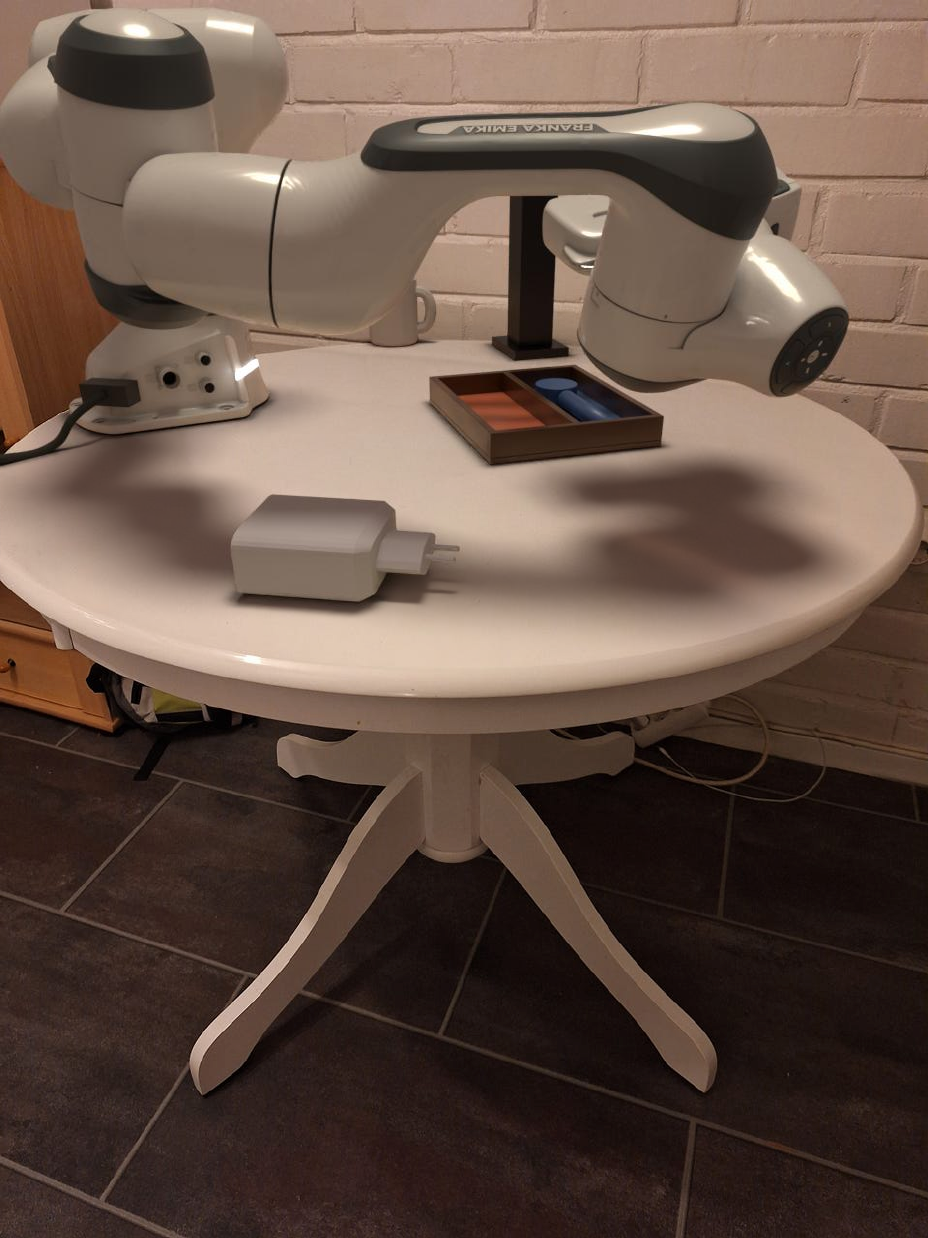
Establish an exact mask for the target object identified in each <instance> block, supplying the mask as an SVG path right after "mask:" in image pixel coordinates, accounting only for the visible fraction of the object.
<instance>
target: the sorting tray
mask: <svg viewBox="0 0 928 1238" xmlns="http://www.w3.org/2000/svg"><path fill="white" fill-rule="evenodd" d="M550 378H560V379H568V380H572V381H575V382H576V383H577V384H578V387H577V395H578V396H579V397H581V398H582V399H584V400H585V401H587V402H588V403H590V404H592V405H593V406H595V407H596V408H598V409H599V410H601V411H602V412H604V413H605V414H607V415H608V416H610V417H612V418H613V419H607V420H597V421H587V422H582V421H581V420H579V419H578V418H576V417H575V416H574V415H572V414H571V413H569V412H568V411H566V410H565V409H564V408H562V407H561V406H557V405H555V404H554V403H552V402H551V401H549V400H548V399H547V398H545V397H544V396H542V395H541V394H540V393H538V392H537V391H535V384H536V382H537V381H539V380H543V379H550ZM428 384H429V386H428V387H429V403H430V405H431V406H432V407H434V408H435V410H436V411H437V412H438V413H439V414H440V415H441V416H442V417H443V418H444V419H445V420H446V421H447V422H448V423H449V424H450V425H451V426H452V427H453V428H454V429H455V430H456V431H457V432H458V433H459V434H460V435H461V436H462V437H463V438H464V439H465V440H466V441H467V442H468V443H469V444H470V445H471V446H472V447H473V448H474V449H475V450H476V451H477V453H478V454H480V456H482V457H483V459H484V460H485V461H486V462H487V463H488V464H490V465H499V464H509V463H515V462H517V463H518V462H526V461H535V460H542V459H543V460H545V459H553V458H560V457H561V458H562V457H570V456H579V455H587V454H597V453H607V452H616V451H625V450H634V449H642V448H653V447H660V446H662V439H663V431H664V430H663V429H664V422H665V421H664V420H665V416H664V415H663V414H661V413H659V412H658V411H656V410H654V409H653V408H651V407H649V406H647V405H646V404H644V403H643V402H641V401H639V400H638V399H636V398H634V397H632V396H631V395H629V394H627V393H625V392H624V391H622V390H620V389H618V388H616V387H615V386H614V385H612V384H610V383H608V382H606V381H604V380H603V379H601V378H599V377H597V376H596V375H594V374H592V373H591V372H589V371H587V370H585V369H584V368H582V367H580V366H579V365H577V364H565V365H554V366H553V365H552V366H542V367H529V368H517V369H505V370H494V371H492V370H491V371H481V372H469V373H459V374H458V373H457V374H447V375H446V374H445V375H434V376H433V375H432V376H429V377H428Z"/></svg>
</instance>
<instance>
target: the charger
mask: <svg viewBox="0 0 928 1238" xmlns="http://www.w3.org/2000/svg"><path fill="white" fill-rule="evenodd" d="M436 539H437V536H436V533H435V532H430V531H429V532H428V531H414V530H413V531H411V530H397V512H396V508H394V507H393V506H392V505H390V504H389V503H388V502H387V501H385V500H379V499H378V500H375V499H358V498H342V497H327V496H326V497H324V496H308V495H292V494H291V495H290V494H275V493H274V494H270V495H268V496H267V497H266V498H265V499H263V501H262V502H261V503H260V504H259V505H258V506H257V507H256V508H255V510H254V511H253V512H252V513H251V514H250V515H249V516H247V518H246V519H245V520H244V521H243V522H242V523H241V524H240V525H239V526H238V528H237V529H236V530H235V531H234V533H233V535H232V537H231V541H230V556H231V562H232V569H233V576H234V581H235V582H234V583H235V589H236V592H237V593H238V594H248V595H249V594H251V595H262V596H263V595H264V596H278V597H288V598H289V597H291V598H303V599H316V600H332V601H345V602H362V601H364V600H366V599H368V598H370V597H371V596H373V595H375V594H376V593H377V592H378V590H379V588H380V586H381V584H382V583H383V581H384V579H385V577H386V575H387V573H393V574H408V575H409V574H410V575H423V576H425V575H426V574H427V573H428V570H429V568H430V566H431V564H432V561H433V562H447V563H454V562H456V560H457V559H456V556H455V555H449V554H435V553H434V551H439V552H454V553H455V552H456V553H458V552H460V550H461V547H460V546H459V545H454V544H453V545H450V544H438V543H437V544H436Z"/></svg>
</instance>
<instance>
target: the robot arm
mask: <svg viewBox="0 0 928 1238" xmlns="http://www.w3.org/2000/svg"><path fill="white" fill-rule="evenodd" d="M280 42H281V41H279V39H278V37H277V35H276V34H275V32H274V31H273V29H272V28H271V27H270V26H269V24H268V23H267V22H266V21H265V20H264V19H263V18H262V17H259V16H255V15H251V14H247V13H243V12H239V11H235V10H230V9H224V8H219V7H160V8H159V7H151V8H135V7H123V6H121V7H120V6H119V7H111V8H88V9H83V10H78V11H74V12H69V13H65V14H62V15H57V16H54V17H51V18H47V19H44V20H42V21H40V22H39V23H38V24H37V26H36V27H35V29H34V31H33V33H32V35H31V37H30V41H29V45H28V53H27V63H28V65H27V66H28V69H27V70H26V71H25V72H24V73H23V74H22V75H21V76H20V77H19V78H18V79H17V80H16V81H15V83H14V84H13V85H12V86H11V88H10V89H9V91H8V92H7V94H6V96H5V97H4V99H3V101H1V105H0V157H1V160H2V162H3V165H4V167H5V169H6V170H7V172H8V173H9V175H10V176H11V177H12V179H13V180H14V181H15V182H16V184H17V185H18V186H19V187H20V188H21V189H23V191H25V193H27V194H28V195H30V196H31V197H32V198H34V199H35V200H37V201H39V202H40V203H42V204H45V205H47V206H49V207H52V208H55V209H58V210H63V211H74V214H75V215H74V216H75V219H76V224H77V229H78V233H79V236H80V240H81V244H82V247H83V248H82V249H83V251H84V254H85V259H84V262H83V268H84V271H85V274H86V277H87V281H88V284H89V286H90V289H91V291H92V293H93V296H94V298H95V299H96V302H97V303H98V304H99V306H100V307H102V308H103V309H104V310H105V311H107V312H108V313H109V314H110V315H112V316H113V317H115V319H117V320H118V321H119V322H118V325H116V326H115V327H114V329H112V331H110V333H109V334H107V336H106V337H105V338H104V339H102V340H101V342H100V343H99V344H98V345H97V346H95V347H94V349H92V350H91V351H90V353H89V354H88V356H87V358H86V363H85V372H84V373H85V374H84V375H85V376H84V377H85V378H84V381H82V382H79V383H78V386H79V392H80V397H78V398H77V397H76V398H74V399H73V400H72V401H71V402H70V403H69V404H68V411H69V416H68V417H66V419H65V421H64V422H63V424H62V426H61V428H60V430H59V432H58V434H57V435H56V436H55V437H54V439H52V440H51V441H49V442H48V443H46V444H44V445H42V446H39V447H36V448H34V449H29V450H23V451H18V452H16V451H15V452H8V453H1V454H0V464H6V463H7V464H8V463H15V462H20V461H24V460H28V459H29V460H30V459H34V458H37V457H40V456H44V455H47V454H50V453H52V452H54V451H55V450H57V449H59V447H61V446H62V445H63V444H64V443H65V442H66V440H67V439H68V437H69V435H70V433H71V431H72V429H73V427H74V426H75V424H77V425H79V426H80V427H82V428H83V429H86V430H88V431H89V430H90V431H92V432H95V433H100V434H107V435H121V434H127V433H128V434H129V433H137V432H144V431H149V430H159V429H165V428H172V427H180V426H187V425H195V424H202V423H209V422H218V421H224V420H232V419H239V418H244V417H248V416H249V415H250V414H251V412H252V411H253V409H254V408H256V407H257V406H259V405H261V404H262V403H264V402H265V401H266V400H268V398H269V396H270V393H269V391H268V388H267V386H266V384H265V381H264V379H263V377H262V373H261V370H260V367H259V360H258V359H257V357H256V353H255V350H254V346H253V341H252V337H251V336H252V335H251V332H250V326H249V323H250V324H255V325H260V326H264V327H271V328H277V329H281V330H288V331H292V332H293V331H294V332H298V333H299V332H300V333H305V334H313V335H321V336H344V335H350V334H356V333H358V332H361V331H363V330H366V329H368V328H369V326H371V325H373V324H374V323H376V322H377V321H379V320H380V319H381V318H382V317H384V316H385V315H386V314H387V313H388V312H389V311H390V310H391V309H392V308H393V307H394V306H395V305H396V304H397V303H398V301H399V300H400V299H401V298H402V296H403V295H404V293H405V292H406V290H407V289H408V287H409V286H410V284H411V282H412V280H413V279H414V277H416V275H417V273H418V271H419V269H420V267H421V265H422V264H423V261H424V260H425V258H426V255H427V254H428V252H429V250H430V248H431V247H432V246H433V243H434V241H435V240H436V239H437V236H438V235H439V233H440V232H441V231H442V229H443V228H444V227H445V225H446V224H447V223H448V222H449V220H451V218H452V217H454V216H455V215H456V214H457V213H458V212H459V211H460V210H462V209H463V208H465V207H467V206H468V205H470V204H472V203H475V202H477V201H479V200H482V199H487V198H494V197H495V198H496V197H510V196H556V195H558V198H555V199H552V200H550V201H549V202H548V203H547V205H546V207H545V209H544V213H543V240H544V244H545V245H546V247H547V248H548V249H549V250H550V251H551V252H552V253H553V254H554V255H555V256H556V258H557V259H558V260H559V261H561V262H562V263H563V264H564V265H565V266H567V267H568V268H569V269H571V270H572V271H574V272H576V273H578V274H580V275H581V276H582V275H583V276H586V277H589V278H588V282H587V286H586V290H585V294H584V298H583V303H582V307H581V310H580V317H579V322H578V327H577V330H576V336H577V340H578V344H579V346H580V347H581V350H582V352H583V353H584V355H585V357H586V358H587V359H588V360H589V361H590V362H591V363H592V364H593V366H594V367H595V368H596V369H597V370H598V371H600V372H601V373H602V374H603V375H604V376H605V377H607V378H608V379H610V380H611V381H612V382H614V383H615V384H616V385H618V386H620V387H621V388H624V389H626V390H629V391H632V392H635V393H641V394H659V393H660V394H661V393H667V392H672V391H676V390H678V389H681V388H685V387H687V386H690V385H695V384H698V383H701V382H705V381H706V380H715V381H716V380H717V381H724V382H725V381H726V382H731V383H735V384H739V385H741V386H744V387H747V388H749V389H750V390H753V391H755V392H757V393H759V394H761V395H764V396H767V397H770V398H777V399H779V398H781V399H782V398H787V397H791V396H794V395H797V394H798V393H800V392H801V391H803V390H804V389H806V388H808V387H809V386H810V385H811V384H813V383H815V381H816V380H817V379H818V378H820V376H822V374H824V372H825V371H827V370H828V369H829V367H830V366H831V364H832V362H833V361H834V359H835V357H836V356H837V354H838V352H839V351H840V348H841V346H842V343H843V342H844V339H845V337H846V335H847V332H848V329H849V325H850V313H849V309H848V306H847V303H846V301H845V299H844V298H843V296H842V295H841V293H840V291H839V290H838V288H837V287H836V285H835V284H834V283H833V282H832V280H831V279H830V278H829V277H828V276H827V275H826V273H824V271H823V270H822V269H821V268H820V267H819V266H818V265H817V264H816V263H815V262H814V261H813V260H812V259H811V258H810V257H809V256H808V255H807V254H806V253H804V252H803V250H801V248H799V247H798V246H797V245H796V244H795V243H793V242H792V239H793V236H794V231H795V228H796V225H797V219H798V214H799V212H800V211H799V210H800V205H801V197H802V192H803V187H802V184H800V183H799V182H798V181H797V180H795V179H794V178H791V177H788V176H787V175H786V173H785V172H784V171H783V170H782V169H781V168H779V167H778V166H777V165H776V163H775V159H774V155H773V152H772V150H771V147H770V145H769V142H768V140H767V137H766V135H765V133H764V131H763V130H762V128H761V127H760V125H759V123H758V121H756V119H754V117H752V116H750V115H749V114H747V113H745V112H742V111H740V110H737V109H735V108H731V107H729V106H725V105H722V104H717V103H711V102H676V103H667V104H657V105H649V106H644V107H643V106H642V107H637V108H627V109H621V110H604V111H603V110H601V111H600V110H599V111H566V112H565V111H564V112H563V111H559V112H558V111H557V112H553V111H552V112H548V111H547V112H506V113H469V114H451V115H436V116H435V115H434V116H423V117H422V116H421V117H413V118H408V119H402V120H398V121H394V122H391V123H388V124H384V125H382V126H380V127H378V128H376V129H375V130H374V131H372V133H371V135H370V136H369V138H368V139H367V142H366V143H365V145H364V147H363V148H362V149H360V150H357V151H355V152H353V153H351V154H349V155H346V156H343V157H338V158H334V159H329V160H328V159H327V160H319V161H308V160H307V161H305V160H299V159H298V160H297V159H291V158H285V157H278V156H271V155H264V154H263V155H262V154H253V153H250V151H251V150H252V148H253V146H254V145H255V143H256V142H257V141H258V139H259V138H260V137H261V136H262V135H263V134H264V132H266V130H267V129H269V128H270V127H271V126H272V125H273V124H274V123H275V122H276V120H277V119H278V118H279V116H280V114H281V112H282V111H283V109H284V107H285V104H286V100H287V97H288V92H289V83H290V82H289V81H290V76H289V66H288V63H287V62H288V61H287V58H286V55H285V54H286V53H285V52H284V48H283V47H282V44H281V43H280ZM559 196H560V197H559Z"/></svg>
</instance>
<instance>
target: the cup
mask: <svg viewBox="0 0 928 1238" xmlns="http://www.w3.org/2000/svg"><path fill="white" fill-rule="evenodd" d="M418 298H421V299H422V300H423V304H424V311H425V313H424V317H423V321H420V322H419V321H418V320H419V319H418ZM436 317H437V304H436V299H435V297H434V295H433V293H432V292H431V290H429V289H428V288H427V287H425V286H423V285H418V282H417V277H416V276H415V277H414V279H413V280H412V282H411V284H410V286H409V287H408V289H407V290H406V292H405V293H404V295H403V296H402V298H401V299H400V300H399V301H398V303H397V304H396V305H395V306H394V307H393V308H392V309H391V310H390V311H389V312H388V313H387V314H386V315H385V316H384V317H382V318H381V319H380V320H379V321H377V322H376V323H374V324H373V325H371V326H369V327H368V328H369V329H368V330H369V340H370V343H372V344H373V345H375V346H380V347H390V348H391V347H392V348H393V347H405V346H411V345H414V344H416V343H417V342H418V339H419V335H420V334H421V335H422V334H425V333H428V332H429V331H430V330H431V329H432V328H433V326H434V325H435V322H436Z"/></svg>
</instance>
